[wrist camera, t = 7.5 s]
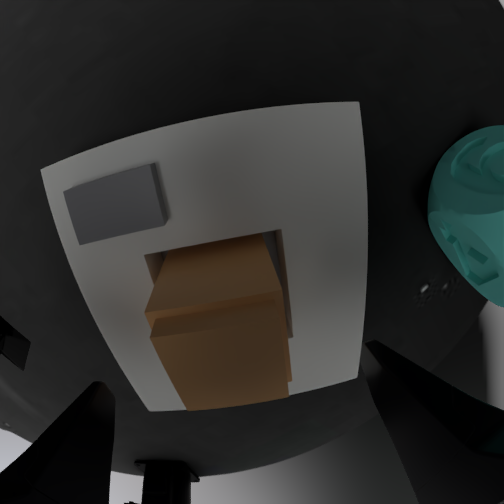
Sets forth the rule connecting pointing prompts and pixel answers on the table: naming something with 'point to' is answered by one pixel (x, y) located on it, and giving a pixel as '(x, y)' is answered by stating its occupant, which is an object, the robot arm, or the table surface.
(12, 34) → the table surface
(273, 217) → the socket plate
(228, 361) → the brown block
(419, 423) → the robot arm
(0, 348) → the black angular piece
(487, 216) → the decorative dice
